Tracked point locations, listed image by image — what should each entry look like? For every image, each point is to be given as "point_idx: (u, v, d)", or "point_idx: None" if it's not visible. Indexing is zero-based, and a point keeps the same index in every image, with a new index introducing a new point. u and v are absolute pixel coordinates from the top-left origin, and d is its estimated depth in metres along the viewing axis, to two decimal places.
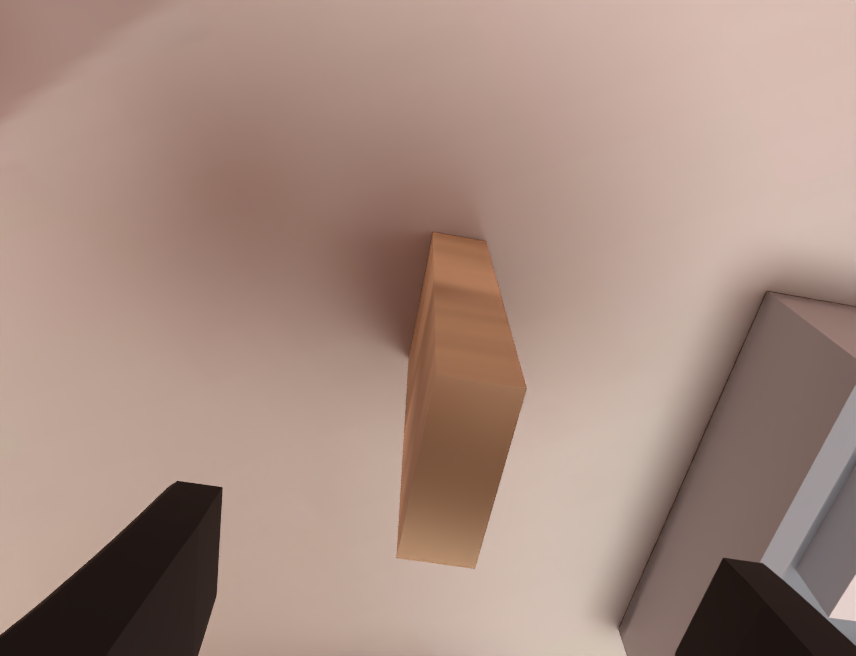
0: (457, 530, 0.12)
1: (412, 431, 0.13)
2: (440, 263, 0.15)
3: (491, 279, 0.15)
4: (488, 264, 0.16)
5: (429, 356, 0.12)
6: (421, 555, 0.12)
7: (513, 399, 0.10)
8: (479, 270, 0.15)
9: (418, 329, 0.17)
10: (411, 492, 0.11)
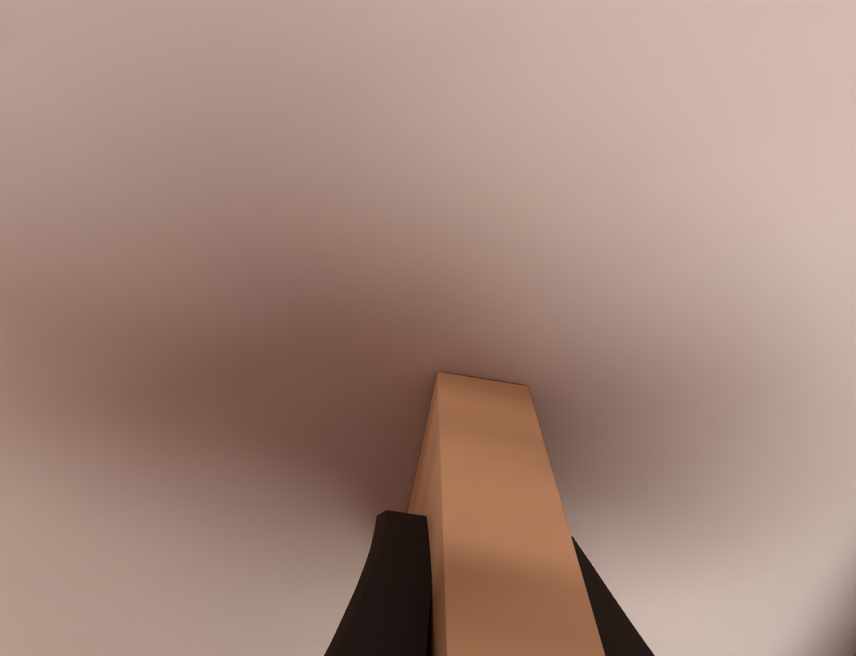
0: None
1: None
2: (455, 473, 0.08)
3: (554, 514, 0.08)
4: (541, 459, 0.09)
5: None
6: None
7: None
8: (529, 486, 0.08)
9: None
10: None
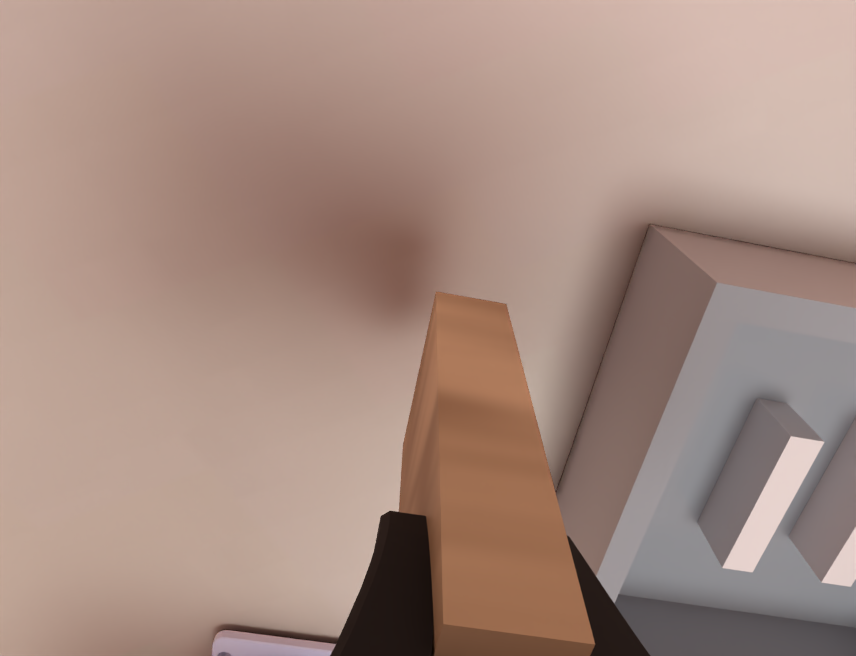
0: None
1: None
2: (447, 352, 0.11)
3: (518, 378, 0.11)
4: (512, 347, 0.12)
5: (431, 538, 0.08)
6: None
7: None
8: (501, 362, 0.11)
9: (415, 426, 0.12)
10: None
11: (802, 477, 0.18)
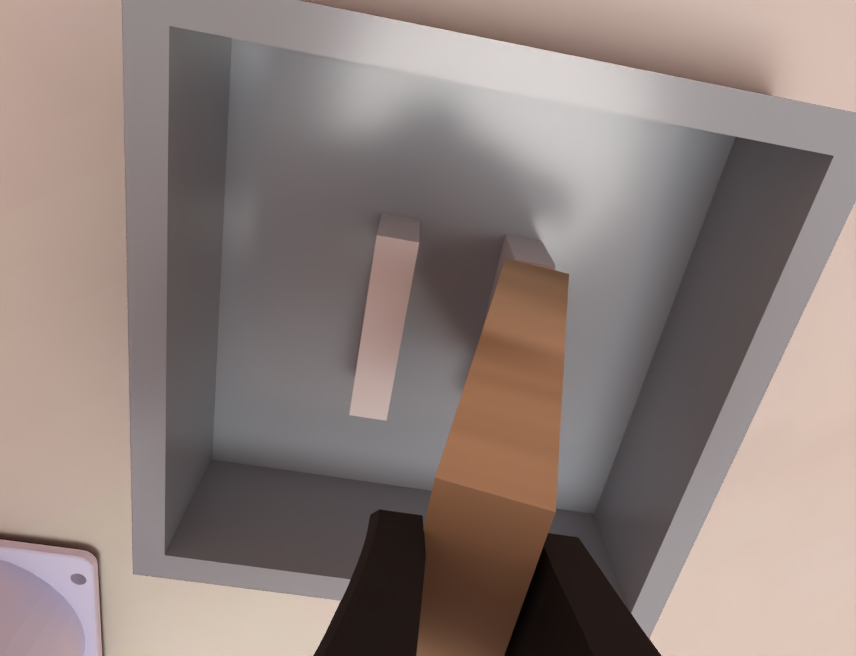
0: None
1: None
2: (500, 304, 0.12)
3: (559, 329, 0.12)
4: (562, 307, 0.13)
5: None
6: None
7: (537, 522, 0.08)
8: (547, 316, 0.12)
9: None
10: None
11: (407, 292, 0.15)
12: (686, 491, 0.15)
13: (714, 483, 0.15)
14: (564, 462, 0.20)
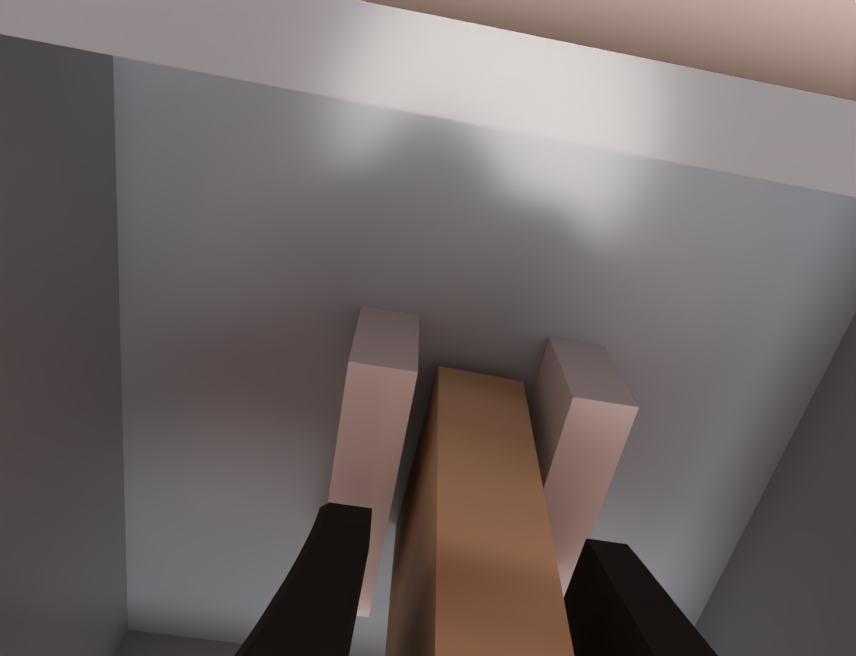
0: None
1: None
2: (450, 472, 0.09)
3: (539, 514, 0.08)
4: (530, 458, 0.09)
5: None
6: None
7: None
8: (517, 485, 0.09)
9: (409, 534, 0.10)
10: None
11: (399, 444, 0.10)
12: None
13: None
14: None
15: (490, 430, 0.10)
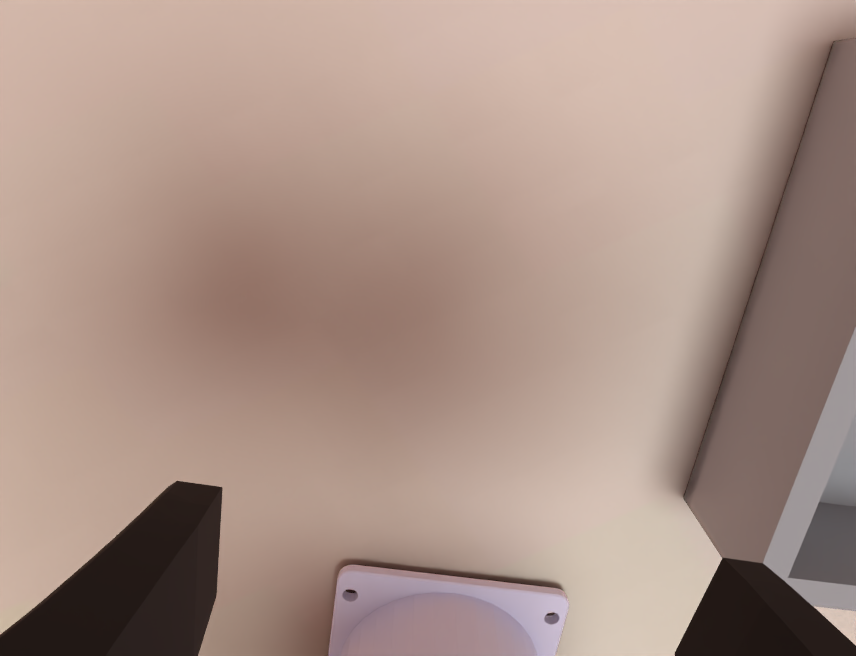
0: None
1: None
2: None
3: None
4: None
5: None
6: None
7: None
8: None
9: None
10: None
11: None
12: None
13: None
14: None
15: None
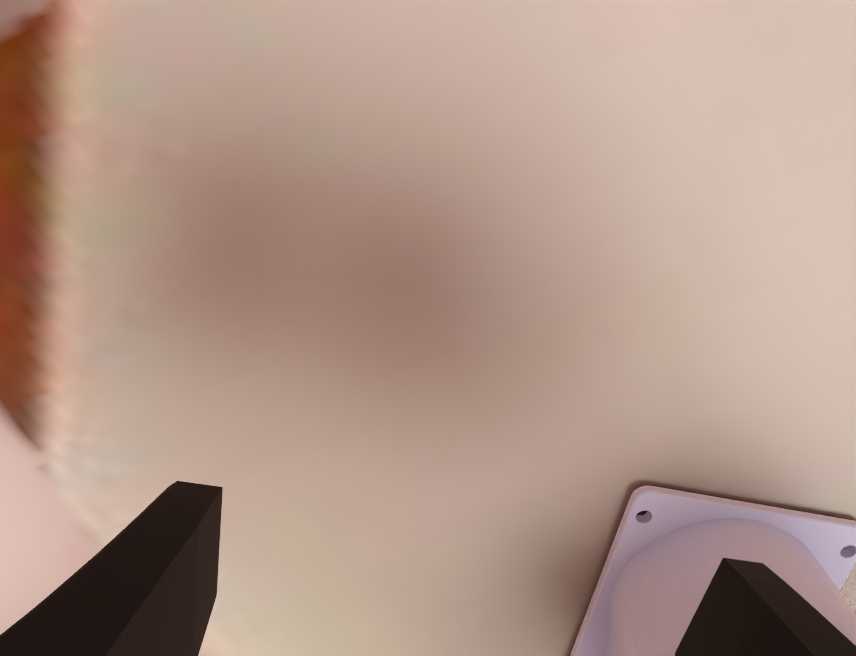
0: None
1: None
2: None
3: None
4: None
5: None
6: None
7: None
8: None
9: None
10: None
11: None
12: None
13: None
14: None
15: None
